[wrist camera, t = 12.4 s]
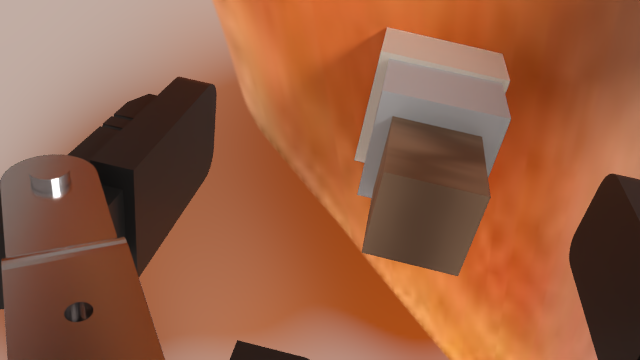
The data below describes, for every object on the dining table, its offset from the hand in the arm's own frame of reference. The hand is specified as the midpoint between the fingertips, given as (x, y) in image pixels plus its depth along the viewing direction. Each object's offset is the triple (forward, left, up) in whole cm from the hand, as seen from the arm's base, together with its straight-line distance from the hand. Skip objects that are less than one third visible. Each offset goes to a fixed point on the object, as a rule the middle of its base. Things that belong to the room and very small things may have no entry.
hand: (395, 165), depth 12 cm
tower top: (-3, +10, -23) cm, 25 cm away
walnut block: (-3, +10, -18) cm, 21 cm away
